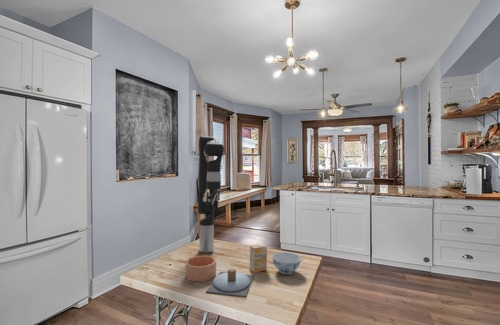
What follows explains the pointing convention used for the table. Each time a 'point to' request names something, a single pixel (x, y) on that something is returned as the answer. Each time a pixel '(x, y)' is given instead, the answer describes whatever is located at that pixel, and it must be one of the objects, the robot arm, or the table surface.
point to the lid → (231, 281)
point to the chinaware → (286, 262)
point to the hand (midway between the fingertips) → (213, 210)
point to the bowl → (200, 268)
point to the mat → (238, 293)
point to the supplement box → (258, 258)
